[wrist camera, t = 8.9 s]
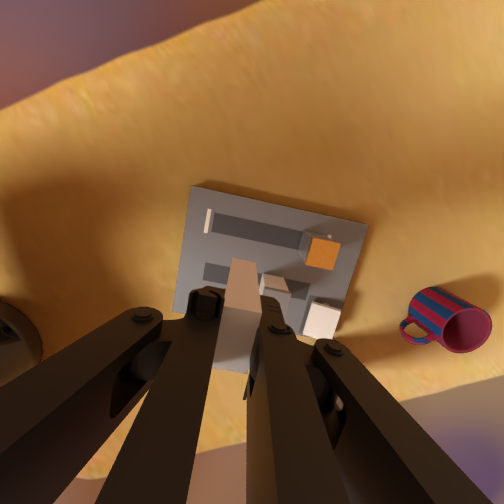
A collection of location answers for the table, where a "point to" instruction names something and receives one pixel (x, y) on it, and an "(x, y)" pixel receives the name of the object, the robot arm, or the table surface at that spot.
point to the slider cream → (275, 290)
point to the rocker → (321, 321)
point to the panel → (263, 249)
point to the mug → (447, 321)
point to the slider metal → (318, 250)
